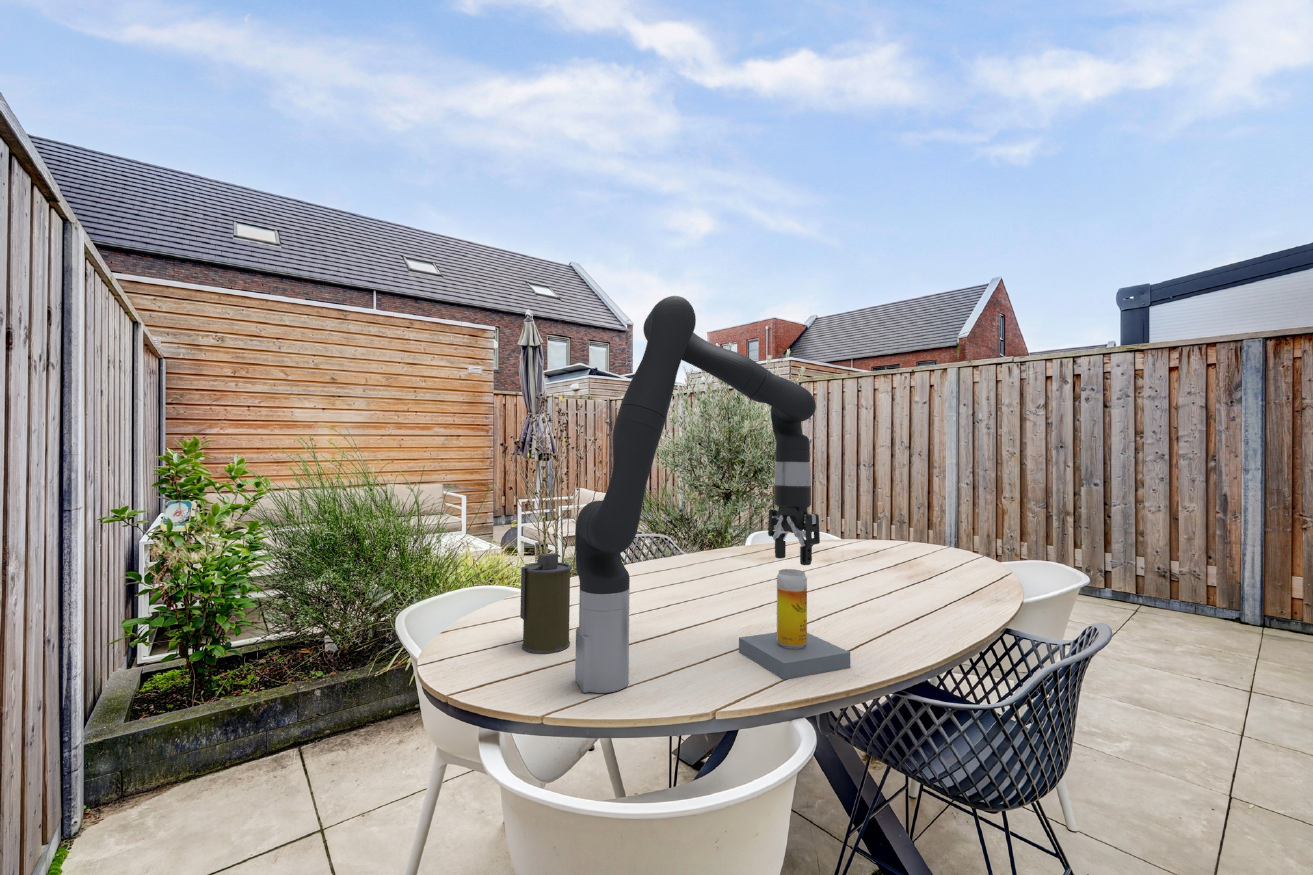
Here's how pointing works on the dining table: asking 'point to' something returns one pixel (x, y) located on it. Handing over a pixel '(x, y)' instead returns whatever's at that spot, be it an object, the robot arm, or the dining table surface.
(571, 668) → the dining table surface
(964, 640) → the dining table surface
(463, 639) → the dining table surface
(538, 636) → the canister
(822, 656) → the stand
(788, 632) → the beer can
